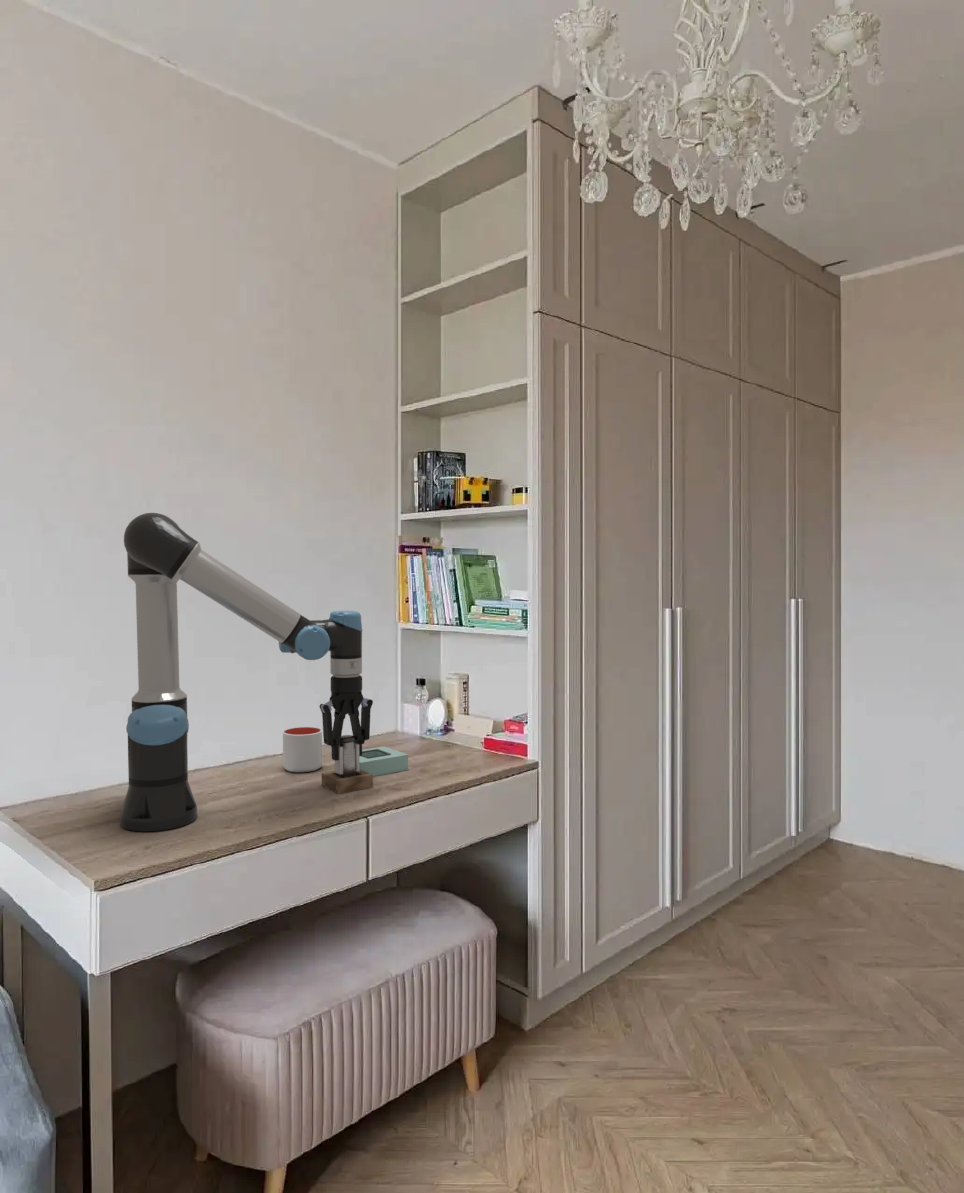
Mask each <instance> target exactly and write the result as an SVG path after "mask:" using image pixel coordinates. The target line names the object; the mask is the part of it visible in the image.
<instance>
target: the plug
mask: <svg viewBox="0 0 964 1193" xmlns="http://www.w3.org/2000/svg"><path fill="white" fill-rule="evenodd" d="M340 746H341V747H343V774H339V777H341V778H347V777H352V776H356V773H355V736H353V734H352V735H351V734H345V735H341V740H340Z"/></svg>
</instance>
